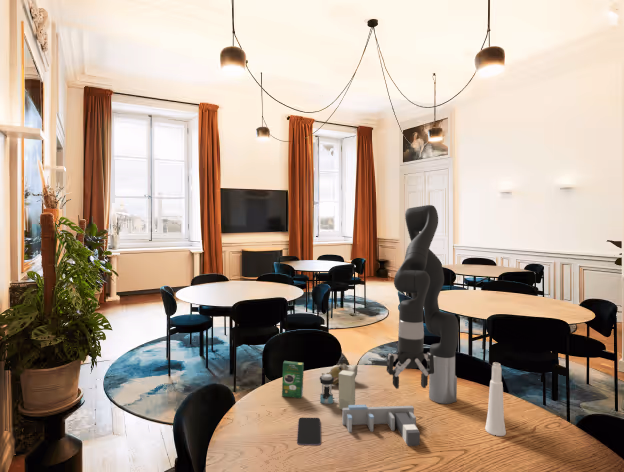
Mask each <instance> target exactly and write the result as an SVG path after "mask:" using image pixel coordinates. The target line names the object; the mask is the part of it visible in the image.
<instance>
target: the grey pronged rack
mask: <svg viewBox="0 0 624 472" xmlns="http://www.w3.org/2000/svg"><path fill="white" fill-rule="evenodd" d="M341 410H342V417H341V418H342V419H341V420H342V421H341V423H342V425H343V426H346V429H347V432H348V433H353V426H355V425H360V426H361V425H367V427H368V430H369V431H370V432H374V425H380V424H381V425H382V424H383V425H385V424H387V425H388V427H389V429H390V430H391V432H392V431H393V432H394V431H395V429H396V426H395V413H406V414H407V415H408V417H409V418H410V419H411V421H412V422H413V424H415V426H416V427H417V416H416V415H415V414H414V413H415V408H414V406H413V405H394V406H393V405H391V406H387V405H386V406H367V404H355V405H348V408H342V409H341Z"/></svg>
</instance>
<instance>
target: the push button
mask: <svg viewBox="0 0 624 472" xmlns="http://www.w3.org/2000/svg"><path fill="white" fill-rule="evenodd" d="M333 380H334V377H332V375H331V374H326V373H324V374H323V375H322V374H321V376H320V377H319V381H320V384H321V392H320V394H319V395H320V397H319V401H320V404H334V402H335V403H336V402H338V398H337V397H334V394H333V392H332V387H333V386H332V384H333Z"/></svg>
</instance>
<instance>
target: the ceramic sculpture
mask: <svg viewBox="0 0 624 472" xmlns="http://www.w3.org/2000/svg"><path fill="white" fill-rule="evenodd" d="M358 367H359V365H358V364H355V365H354V364H353V365H351V366H348V365H347V364H346V363H344V362H340V363H339V364H337V365H333V366H332V367H331V368H330V371H329V372H326V373H321V376H322V375H323V374H331V375H332V377H334V380H333V384H332V385H334V386H335V385H337V384H339V373H340V372H341V371H342V370H345V371H351V372H355V379H356V378H357V375H358Z"/></svg>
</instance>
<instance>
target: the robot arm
mask: <svg viewBox="0 0 624 472" xmlns="http://www.w3.org/2000/svg"><path fill="white" fill-rule="evenodd" d="M404 216H405V218H404V219H405V224H406V227H407V228H406V229H407V232H408V235H409V239H410V242H409V244H408V246H407V248H406V252H405V257H404V260H403V261H402V264H401V265H400V266H399V268H398V269H397V271H396V273H395V275H394V277H393V278H394V279H393V284H394V287H395V289H396V291H398V292H399V293H405V294H416V297H414V298H412V299H404V300H402V301H401V302H400V303H399V323H398V330H397V331H398V334H397V336H398V339H397V340H398V343H397V349H398V350H397V354H395V353H391V352H388V353H387V361H386V372H387V373H388V375H389V376H392V385H393V386H394V388H395V389H396V390H397V389H400V376H399V375H400V374H401V373H402V372H404V370H405V369H406V370H410V369H414V370H416V369H417V368H418V369H419V370H420V372H421V374H420V387H422V388H423V389H426V388H427V386H428V387H429V388H428V398H429V399H430V400H431V401H433V402H434V403H438V404H446V405H447V404H448V405H449V404H452V403H455V402H457V399H458V398H457V394H458V391H457V390H458V387H457V386H458V377H457V375H456V352H457V351H456V350H457V346H458V337H459V321H458V317H456V315H455V314H452V313H448V312H443V311H441V310H440V305H439V296H440V293H441V291H442V289H443V286H444V284H445V275H444V269H443V263H442V262H441V260H440V259H439V257H438V256H437V255H436V254H435V253H434V252H433V251H432V250H431V249H430V246H431V245H432V242H433V239H434V238H435V235H436V231H437V228H438V227H439V215H438V211H437V209H436V206H434V205H433V204H428V205H427V204H425V205H421V206H415V207H409V208H407V209H406V210H405V213H404ZM424 323H425V324H424ZM424 325H425V326H426V330H427V331H428V333H429V334H432V335H435V336H438V337H440V340H439V342H438V343H432V344H431V345H430V346H429V351H427V352H426V353H424V338H425V332H424V331H425V329H424V328H425V327H424ZM396 360H398V362H397V363H396V364H395V367H394V362H396ZM424 360H425V361H426V367H425V366H424V365H423V364H422V362H423V361H424ZM428 378H429V379H428ZM428 384H429V385H428Z"/></svg>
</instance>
